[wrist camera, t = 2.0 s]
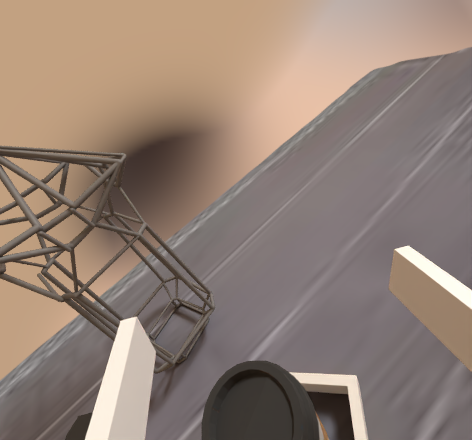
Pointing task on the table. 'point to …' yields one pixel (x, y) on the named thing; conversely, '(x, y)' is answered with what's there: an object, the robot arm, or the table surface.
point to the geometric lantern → (115, 180)
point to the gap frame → (339, 386)
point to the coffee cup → (260, 406)
